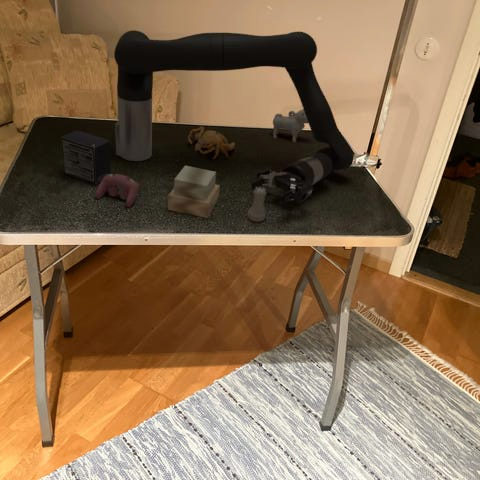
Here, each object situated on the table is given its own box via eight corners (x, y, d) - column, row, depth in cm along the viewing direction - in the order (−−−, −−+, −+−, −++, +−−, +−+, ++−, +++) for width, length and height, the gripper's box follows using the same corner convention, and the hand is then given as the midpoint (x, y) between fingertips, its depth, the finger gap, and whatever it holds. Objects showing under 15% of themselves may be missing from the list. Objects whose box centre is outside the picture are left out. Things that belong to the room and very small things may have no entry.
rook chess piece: (263, 224, 119) (268, 195, 115) (245, 220, 120) (249, 191, 115) (266, 215, 123) (271, 186, 118) (249, 211, 123) (253, 183, 119)
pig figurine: (306, 144, 163) (313, 113, 157) (269, 137, 165) (274, 106, 159) (309, 139, 167) (315, 108, 161) (272, 131, 169) (277, 101, 163)
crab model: (244, 156, 151) (246, 139, 148) (208, 163, 144) (210, 145, 141) (216, 137, 161) (218, 121, 157) (182, 142, 154) (183, 126, 151)
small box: (112, 176, 131) (110, 139, 125) (96, 186, 126) (94, 147, 120) (80, 165, 134) (77, 128, 128) (63, 174, 129) (59, 136, 123)
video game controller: (137, 207, 122) (143, 180, 121) (129, 208, 118) (135, 179, 117) (102, 197, 124) (108, 170, 123) (92, 197, 120) (98, 169, 119)
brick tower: (167, 209, 120) (168, 180, 115) (181, 191, 128) (182, 163, 124) (207, 218, 119) (210, 188, 114) (218, 199, 127) (221, 171, 122)
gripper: (283, 151, 132) (245, 168, 121) (328, 171, 125) (292, 190, 114) (279, 176, 136) (242, 194, 125) (322, 196, 130) (287, 217, 119)
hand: (266, 192), depth 120 cm, fingers open, 8 cm apart
